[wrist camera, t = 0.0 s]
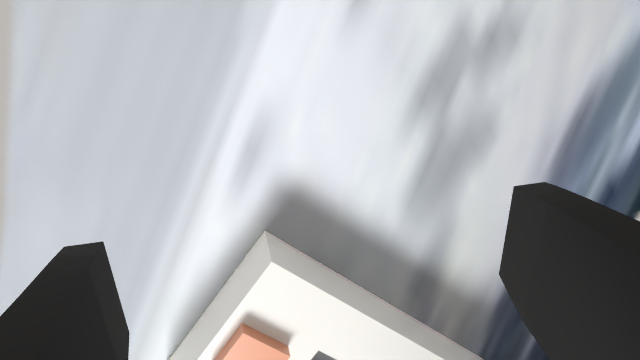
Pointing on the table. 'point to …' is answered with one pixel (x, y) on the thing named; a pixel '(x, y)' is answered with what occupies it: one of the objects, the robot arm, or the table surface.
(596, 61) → the table surface
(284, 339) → the power strip
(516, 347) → the table surface
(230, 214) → the table surface
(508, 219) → the robot arm
